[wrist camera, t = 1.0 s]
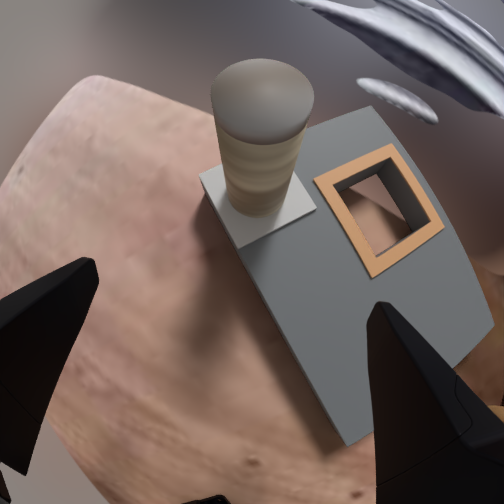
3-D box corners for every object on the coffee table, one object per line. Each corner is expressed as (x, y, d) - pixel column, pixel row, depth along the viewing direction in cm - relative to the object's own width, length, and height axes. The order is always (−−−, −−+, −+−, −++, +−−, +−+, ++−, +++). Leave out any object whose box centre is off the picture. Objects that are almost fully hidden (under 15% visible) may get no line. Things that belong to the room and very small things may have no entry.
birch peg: (297, 201, 20) (333, 109, 10) (244, 228, 20) (240, 147, 10) (268, 155, 21) (279, 49, 11) (217, 179, 20) (194, 78, 10)
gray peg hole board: (474, 325, 21) (496, 324, 18) (336, 432, 20) (348, 448, 16) (360, 123, 25) (372, 103, 22) (204, 192, 24) (198, 174, 20)
